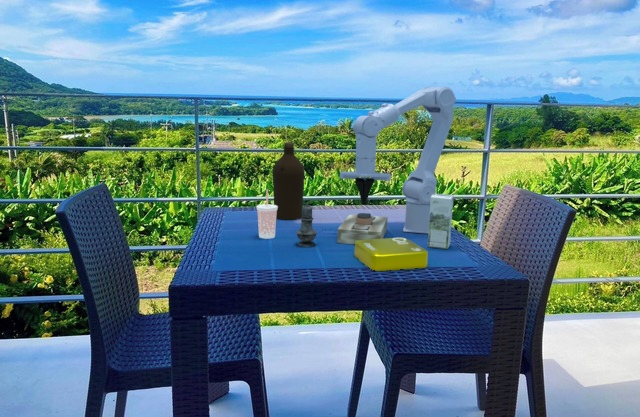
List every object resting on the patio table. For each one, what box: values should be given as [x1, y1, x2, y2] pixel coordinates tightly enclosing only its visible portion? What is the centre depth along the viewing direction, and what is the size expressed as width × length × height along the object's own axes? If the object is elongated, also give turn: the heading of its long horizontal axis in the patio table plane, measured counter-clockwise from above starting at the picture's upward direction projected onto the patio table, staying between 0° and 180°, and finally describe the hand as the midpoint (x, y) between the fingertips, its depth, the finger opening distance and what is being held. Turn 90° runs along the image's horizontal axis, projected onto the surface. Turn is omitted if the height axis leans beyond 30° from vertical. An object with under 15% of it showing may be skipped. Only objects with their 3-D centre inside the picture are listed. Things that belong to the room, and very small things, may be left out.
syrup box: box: [427, 193, 455, 250], centre depth 157 cm, size 6×6×14 cm
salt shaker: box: [295, 201, 318, 248], centre depth 155 cm, size 6×6×12 cm
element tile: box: [353, 237, 429, 272], centre depth 143 cm, size 15×15×5 cm
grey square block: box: [336, 214, 388, 245], centre depth 167 cm, size 12×20×4 cm, turn 168°
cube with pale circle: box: [353, 225, 369, 230], centre depth 161 cm, size 4×4×4 cm
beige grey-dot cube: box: [355, 212, 373, 225], centre depth 166 cm, size 4×4×4 cm
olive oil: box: [272, 141, 306, 221], centre depth 188 cm, size 11×11×25 cm
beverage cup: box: [256, 188, 278, 240], centre depth 163 cm, size 6×6×14 cm
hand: (364, 204), depth 166 cm, fingers closed
